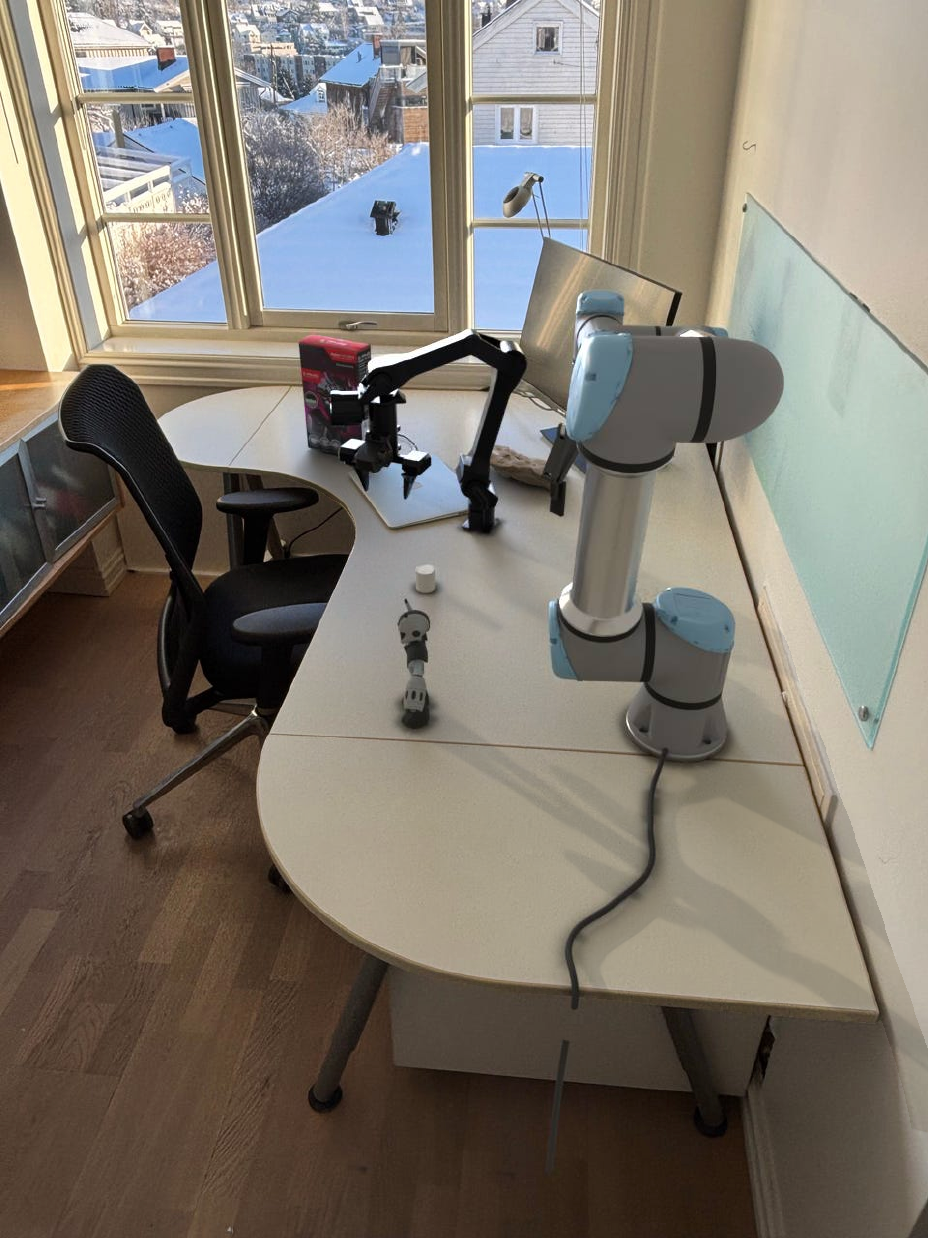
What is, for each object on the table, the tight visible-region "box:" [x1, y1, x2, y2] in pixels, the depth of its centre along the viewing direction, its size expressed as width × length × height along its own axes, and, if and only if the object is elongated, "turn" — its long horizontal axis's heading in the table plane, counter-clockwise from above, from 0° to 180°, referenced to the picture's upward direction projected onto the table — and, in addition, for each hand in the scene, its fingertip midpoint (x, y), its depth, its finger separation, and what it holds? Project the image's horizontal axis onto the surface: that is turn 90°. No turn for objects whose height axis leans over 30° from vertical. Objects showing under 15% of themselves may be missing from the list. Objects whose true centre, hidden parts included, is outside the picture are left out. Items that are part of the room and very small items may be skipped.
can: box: [415, 564, 436, 594], centre depth 176 cm, size 4×4×4 cm
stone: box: [490, 444, 550, 490], centre depth 217 cm, size 21×15×6 cm
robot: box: [396, 598, 431, 729], centre depth 141 cm, size 20×5×20 cm, turn 3°
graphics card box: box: [297, 333, 372, 455], centre depth 223 cm, size 17×7×27 cm, turn 62°
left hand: (386, 494), depth 192 cm, fingers open, 9 cm apart
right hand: (582, 501), depth 166 cm, fingers open, 13 cm apart
